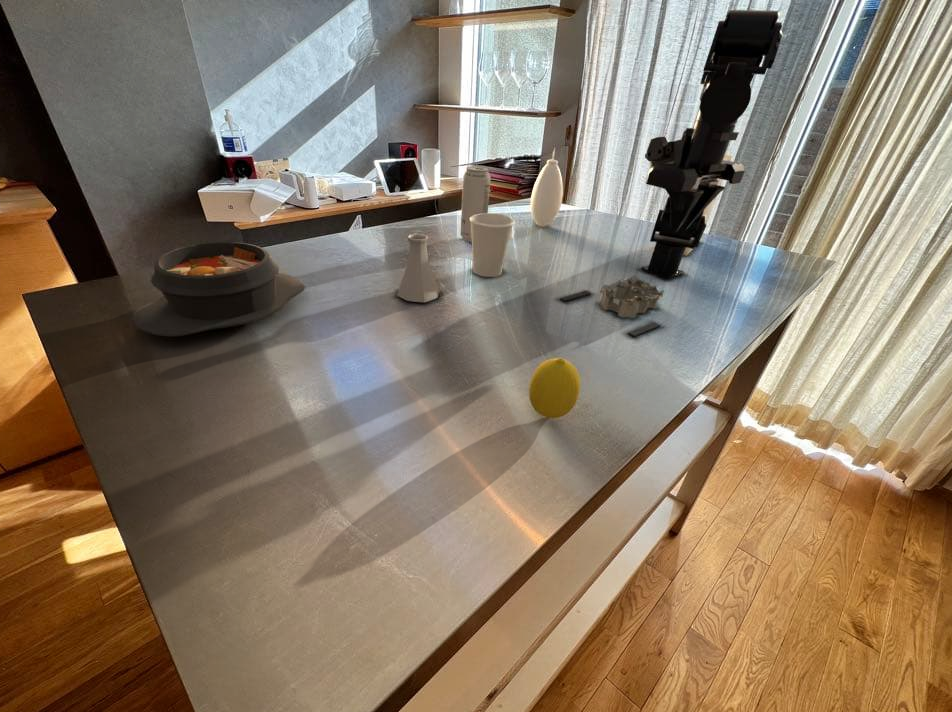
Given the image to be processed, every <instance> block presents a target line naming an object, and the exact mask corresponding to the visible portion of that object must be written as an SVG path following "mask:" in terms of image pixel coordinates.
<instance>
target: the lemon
mask: <svg viewBox="0 0 952 712" xmlns="http://www.w3.org/2000/svg"><path fill="white" fill-rule="evenodd" d="M580 392H581V377H580V374H579V372H578V370H577V368H576V366H574V365H573V364H572V362H570V361H568V360H566V359H564V358H562V357H556V358H555V357H554V358H549V359H546V360H544V361H543V362H542V363H540V364H539V365H538V366H537V367H536V369H535V371H534V372H533V374H532V376H531V379H530V383H529V387H528V396H529V402H530V404H531V407H532V408H533V409H534V411H535V412H536V413H538V414H539V415H540V416H542V417H545V418H546V419H559V418H561V417H564V416H566V415H567V414H569V413H570V412H571V411H572V410H573V408H574V407H575V406H576V404H577V402H578V400H579V397H580Z"/></svg>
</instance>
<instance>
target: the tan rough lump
mask: <svg viewBox="0 0 952 712" xmlns="http://www.w3.org/2000/svg"><path fill="white" fill-rule="evenodd" d="M599 293H600V294H601V299H600V302H599V304H600V305H601V308H602V309H603V310H604V311H613V312H616V313H617V316H618V317H620V318H630V319H634V318H636V316H637V315H638V313H639V314H644V313H646V312H647V310H648V309H653V310H654V309H657V306H658V302H659V300H660V298H662V297H663V295H664V294H665V290H663V289H662V290H658V288H657V285H653V284H651V283H649V282H647V281H645V279H643V280H641V279H640V278H638V276H636V275H635V274H632V275H631V276H630V277H627V278H626V279H622V280H621V279H619V280H618V281H615V282H612V283H610V284H603V285H602V286H601V288H600V291H599Z"/></svg>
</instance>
